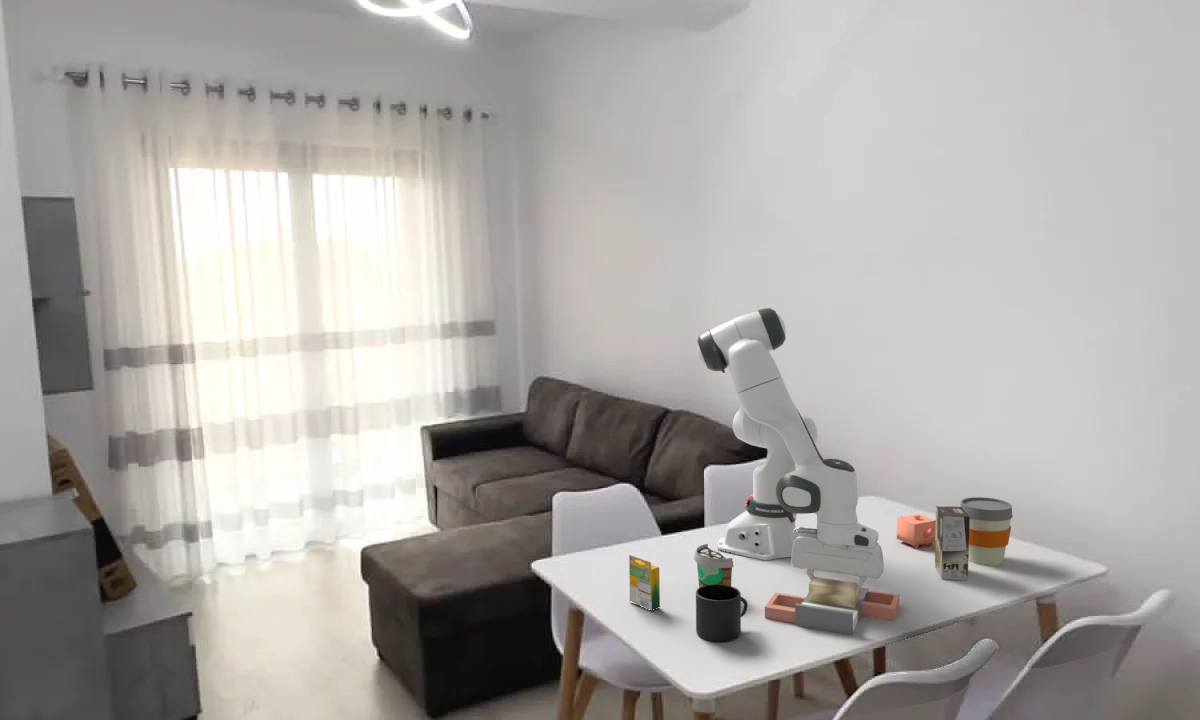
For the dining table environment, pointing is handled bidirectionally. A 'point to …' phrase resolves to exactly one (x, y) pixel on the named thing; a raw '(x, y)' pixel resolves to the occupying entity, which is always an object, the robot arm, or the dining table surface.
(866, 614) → the board
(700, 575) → the food container
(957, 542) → the coffee box
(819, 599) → the beech bar
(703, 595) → the mug
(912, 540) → the pink cube teapot
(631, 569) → the crayon box
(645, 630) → the dining table surface
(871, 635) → the dining table surface
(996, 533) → the reusable coffee cup
